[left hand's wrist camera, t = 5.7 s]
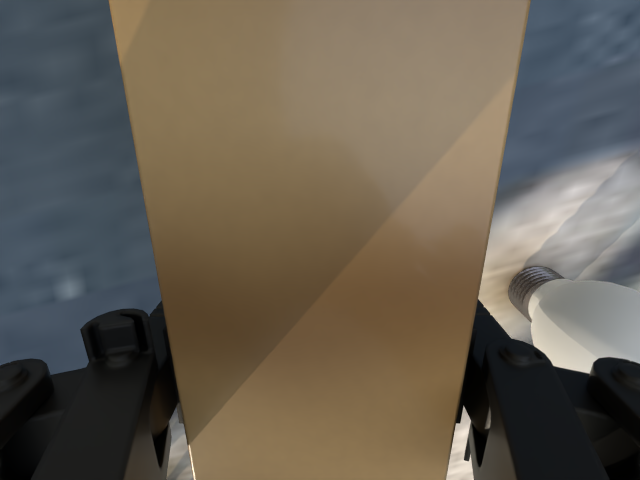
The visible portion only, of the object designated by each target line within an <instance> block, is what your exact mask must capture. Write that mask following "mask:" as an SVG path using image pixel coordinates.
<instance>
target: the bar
mask: <svg viewBox="0 0 640 480" xmlns="http://www.w3.org/2000/svg"><path fill="white" fill-rule="evenodd" d="M530 2H531V0H109V5H110V10H111V16H112V22H113V27H114V33H115V38H116V44H117V50H118V55H119V61H120V67H121V72H122V78H123V84H124V89H125V95H126V100H127V106H128V112H129V117H130V123H131V129H132V134H133V140H134V146H135V151H136V157H137V162H138V168H139V174H140V179H141V185H142V191H143V196H144V202H145V208H146V213H147V219H148V224H149V230H150V236H151V241H152V247H153V253H154V258H155V264H156V270H157V275H158V281H159V286H160V292H161V298H162V303H163V309H164V315H165V320H166V326H167V332H168V337H169V343H170V348H171V354H172V360H173V365H174V371H175V377H176V382H177V388H178V394H179V399H180V405H181V410H182V416H183V422H184V427H185V433H186V439H187V444H188V450H189V456H190V461H191V467H192V472H193V478H194V480H446V476H447V470H448V465H449V459H450V453H451V448H452V442H453V436H454V431H455V425H456V420H457V414H458V408H459V403H460V397H461V391H462V386H463V380H464V374H465V369H466V363H467V357H468V352H469V346H470V340H471V335H472V329H473V324H474V318H475V312H476V307H477V301H478V295H479V290H480V284H481V278H482V273H483V267H484V261H485V256H486V250H487V244H488V239H489V233H490V228H491V222H492V216H493V211H494V205H495V199H496V194H497V188H498V182H499V177H500V171H501V165H502V160H503V154H504V148H505V143H506V137H507V132H508V126H509V120H510V115H511V109H512V103H513V98H514V92H515V86H516V81H517V75H518V69H519V64H520V58H521V52H522V47H523V41H524V36H525V30H526V24H527V19H528V13H529V7H530Z"/></svg>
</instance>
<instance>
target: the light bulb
mask: <svg viewBox="0 0 640 480" xmlns="http://www.w3.org/2000/svg"><path fill="white" fill-rule="evenodd" d="M508 293H509V299H510V301H511V302H512V304H513V305H514V306H515V307H516V308H517V309H518V310H519V311H520V312H521V313H522V314H523V315H524V316H525V317H526V318H527V319H528V320H529V321H530V322H531V323H532V324H531V332H532V339H533V344H534V346H535V347H536V348H538V349H539V350H540V351H542V352H543V353H545V354H546V356H547V357H548V358H549V359H550V361H551V362H552V364H553V366H556V367H560V368H565V369H570V370H575V371H580V372H585V373H590V371H591V368H592V365H593V362H594V361H596V360H597V359H598V358H604V357H613V358H621V359H627V360H630V361H634V362H637V363H639V364H640V292H638V291H636V290H634V289H631V288H628V287H624V286H621V285H617V284H614V283H610V282H602V281H591V280H587V281H577V282H574V281H573V280H569V279H565V278H563V277H562V276H561V275H559V274H558V273H556V272H555V271H553V270H551V269H549V268H546V267H532V268H528V269H526V270H524V271H522V272H520V273H519V274H517V275H516V276H515V277H514V279H513V280H512V282H511V283H510V286H509V290H508Z"/></svg>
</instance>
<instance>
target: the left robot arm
mask: <svg viewBox="0 0 640 480" xmlns="http://www.w3.org/2000/svg"><path fill="white" fill-rule="evenodd" d="M80 330H81V334H82V338H83V341H84V345H85V348H86V352H87V356H88V359H89V363H88V365H87V367H86V368H82V369H78V370H73V371H68V372H63V373H58V374H53V375H50V372H49V369H48V366H47V364H46V363H45V362H44V361H42V360H39V359H24V360H17V361H13V362H11V363H6V364H3V365H1V366H0V480H166V476H167V468H168V461H169V453H170V445H171V429H170V424H169V420H170V418H171V416H172V414H173V412H174V410H175V408H176V407H177V412H178V417H179V423H184V422H183V416H182V410H181V405H180V399H179V394H178V388H177V382H176V377H175V371H174V365H173V360H172V354H171V348H170V343H169V337H168V332H167V326H166V320H165V315H164V309H163V303H162V301H161V302H160V303H159V304H158V306H157V307H156V309H154V310H153V312H152V313H151V314H150V317H148V314H147V313H146V312H144V311H143V310H139V309H120V310H115V311H111V312H108V313H105V314H102V315H100V316H97V317H96V318H94V319H92V320H91V321H89V322H87V323H86V324H85V325H84V326H83V327H82V328H81V329H80ZM463 405H464V407H465V409H466V411H467V413H468V415H469V417H470V419H471V424H470V429H469V434H468V439H467V444H466V450H465V456H464V460H465V461H469V458H470V453H471V460H472V468H473V475H474V480H640V364H639V363H637V362H634V361H630V360H627V359H621V358H613V357H604V358H598V359H597V360H596V361H594V362H593V365H592V368H591V371H590V373H585V372H580V371H575V370H570V369H565V368H560V367H556V366H553V364H552V362H551V361H550V359H549V358H548V357H547V356H546V354H545V353H543V352H542V351H540V350H539V349H538V348H536V347H534V346H532V345H530V344H528V343H525V342H523V341H519V340H515V339H511V338H510V337H509V335H508V334H507V333H506V332H505V331H504V329H503V328H502V327H501V326H500V325H499V323H498V322H497V321H496V320H495V319H494V317H493V316H492V315H490V313H489V312H488V310H487V309H486V308H485V307H483V304H482V303H481V302H480V301H479V300H478V301H477V307H476V312H475V318H474V324H473V329H472V335H471V340H470V346H469V352H468V357H467V363H466V369H465V374H464V380H463V386H462V391H461V397H460V403H459V408H458V414H457V420H456V423H460V422H461V416H462V411H463Z"/></svg>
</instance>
